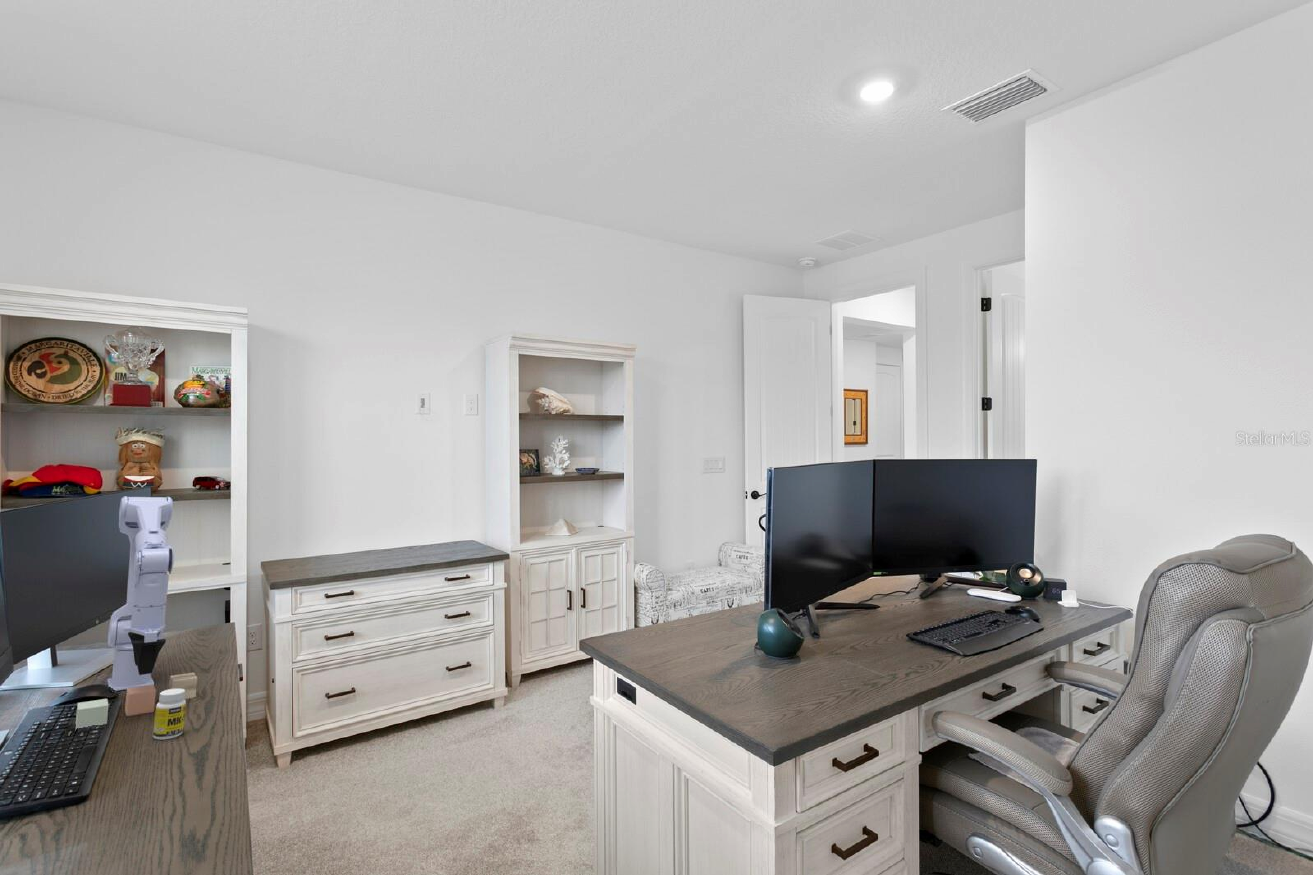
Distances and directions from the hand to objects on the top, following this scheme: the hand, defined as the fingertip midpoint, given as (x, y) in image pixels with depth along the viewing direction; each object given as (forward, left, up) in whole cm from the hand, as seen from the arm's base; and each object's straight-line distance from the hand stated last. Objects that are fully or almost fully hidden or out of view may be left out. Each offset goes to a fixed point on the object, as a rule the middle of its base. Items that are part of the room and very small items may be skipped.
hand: (143, 669), depth 139 cm
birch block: (-5, +8, -9) cm, 13 cm away
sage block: (+5, -8, -9) cm, 13 cm away
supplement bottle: (+18, +3, -9) cm, 20 cm away
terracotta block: (0, 0, -9) cm, 9 cm away
